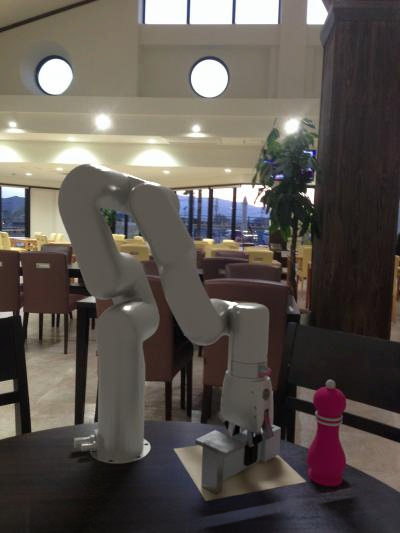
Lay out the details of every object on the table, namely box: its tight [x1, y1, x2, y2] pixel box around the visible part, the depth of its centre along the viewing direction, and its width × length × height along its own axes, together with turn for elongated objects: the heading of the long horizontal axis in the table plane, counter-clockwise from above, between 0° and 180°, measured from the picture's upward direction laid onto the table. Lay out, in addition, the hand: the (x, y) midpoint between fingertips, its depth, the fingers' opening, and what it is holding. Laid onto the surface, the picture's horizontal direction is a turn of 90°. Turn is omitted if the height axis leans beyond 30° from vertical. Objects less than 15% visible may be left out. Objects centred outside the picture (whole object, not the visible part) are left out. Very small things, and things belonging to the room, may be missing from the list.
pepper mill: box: [306, 379, 347, 493], centre depth 84 cm, size 7×7×20 cm
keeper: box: [195, 429, 245, 495], centre depth 81 cm, size 6×7×9 cm
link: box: [222, 424, 282, 480], centre depth 88 cm, size 16×5×6 cm, turn 134°
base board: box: [173, 444, 307, 502], centre depth 88 cm, size 20×19×1 cm
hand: (243, 458), depth 87 cm, fingers closed on link, 3 cm apart
